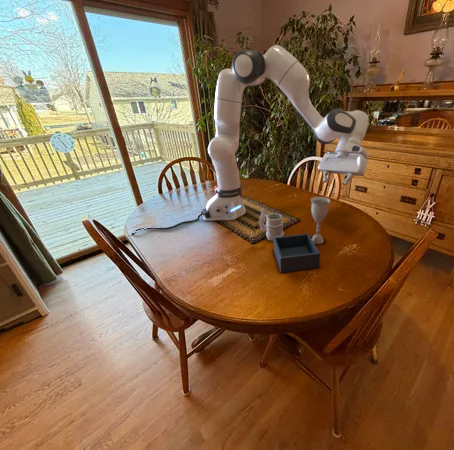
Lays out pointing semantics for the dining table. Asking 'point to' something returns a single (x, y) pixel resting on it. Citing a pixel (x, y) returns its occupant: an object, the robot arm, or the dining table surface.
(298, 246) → the bin
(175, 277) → the dining table surface
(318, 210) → the chalice
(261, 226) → the mug
